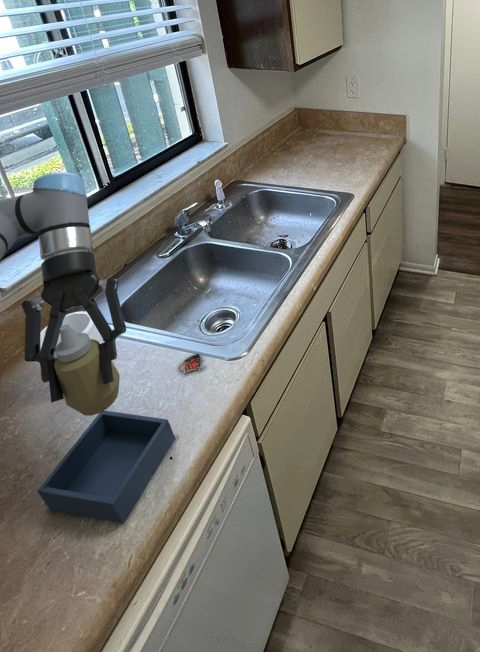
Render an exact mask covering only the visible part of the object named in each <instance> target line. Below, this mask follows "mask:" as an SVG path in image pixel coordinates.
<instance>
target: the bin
mask: <svg viewBox="0 0 480 652" xmlns="http://www.w3.org/2000/svg"><path fill="white" fill-rule="evenodd" d="M175 441H176V436H175V433H174V431H173V428H172V426H171V424H170V422H169V419H166V418H160V417H154V416H153V417H152V416H146V415H140V414H132V413H131V414H130V413H126V412H125V413H124V412H117V411H112V410H111V411H110V410H104V411H102V412H101V413H98V414H97V415H96V416H95V418H94V419H93V420H92V421H91V423H90V424H89V425H88V427H87V428H86V429H85V430H84V432H83V433H82V434H81V436H80V437H78V439H77V440H76V441H75V442H74V444H73V445H72V447H71V448H70V449H69V450H68V451H67V453H66V454H65V455H64V456H63V458H62V459H61V460H60V462H59V463H58V464H57V465H56V466H55V468H54V469H52V471H51V472H50V473H49V475H48V476H47V477H46V478H45V480H44V481H43V482H42V484H41V485H40V486H39V488H38V489H37V490H36V492H37V494H38V495H39V497H40V498H41V499H42V501H43V502H44V504H45V506H46V507H47V508H48V510H49V511H51V512H56V513H62V514H69V515H73V516H79V517H85V518H90V519H94V520H95V519H96V520H100V521H107V522H112V523H117V524H122V525H124V524H125V523H126V521H127V519H128V517H129V516H130V514H131V513H132V511H133V509H134V508H135V506H136V504H137V503H138V501H139V500H140V499H141V496H142V494H143V493H144V491H146V488H147V486H148V485H149V483H150V481H151V479H152V478H153V477H154V475H155V473H156V471H157V470H158V468H159V466H160V465H161V463H162V462H163V460H164V459H165V457H166V455H167V453H168V452H169V450H170V449H171V447H172V446H173V444H174V442H175Z"/></svg>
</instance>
